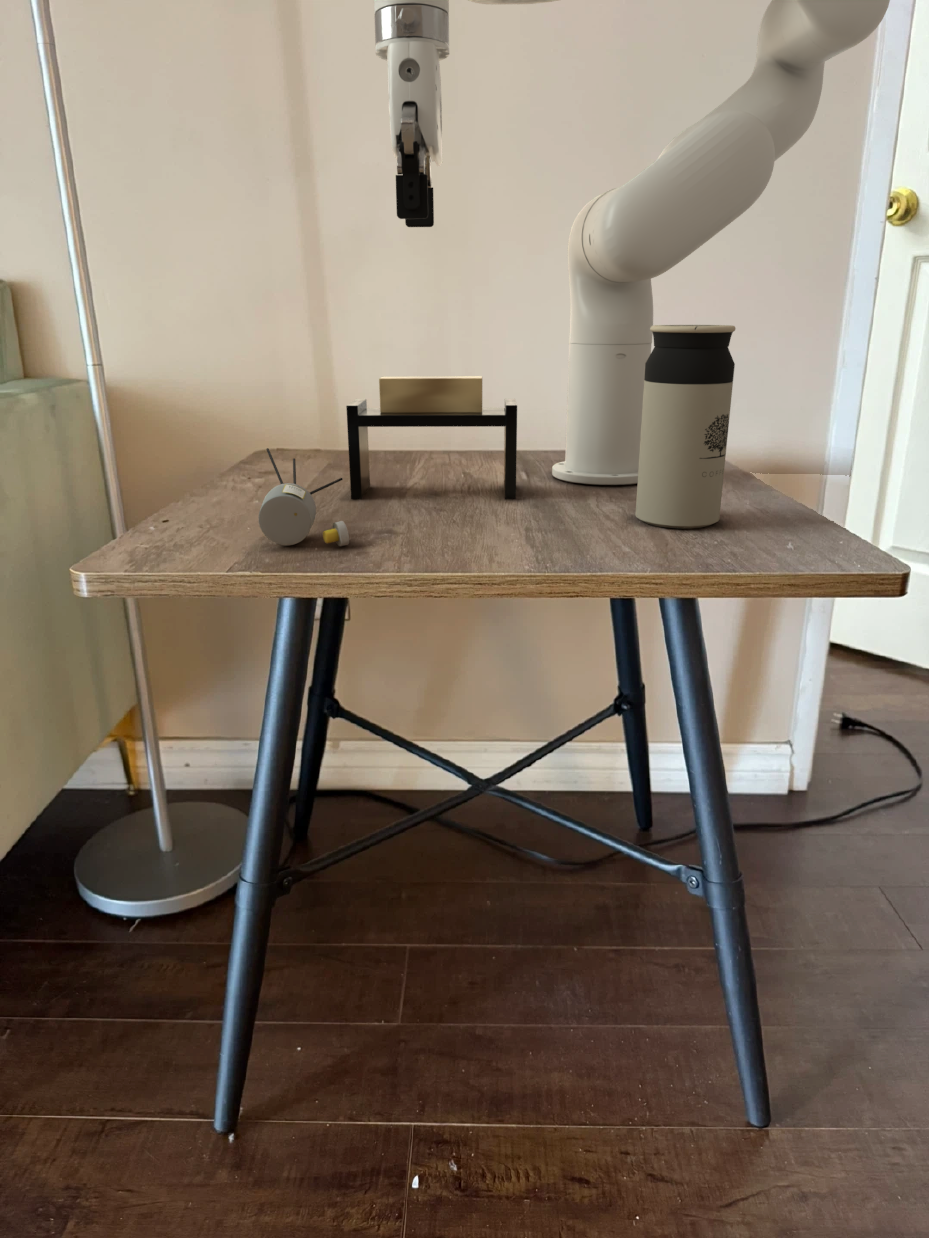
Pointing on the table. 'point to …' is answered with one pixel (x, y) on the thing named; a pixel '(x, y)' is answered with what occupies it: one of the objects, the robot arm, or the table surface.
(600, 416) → the robot arm
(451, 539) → the table surface
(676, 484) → the travel mug
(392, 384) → the block
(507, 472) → the shelf
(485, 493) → the table surface
